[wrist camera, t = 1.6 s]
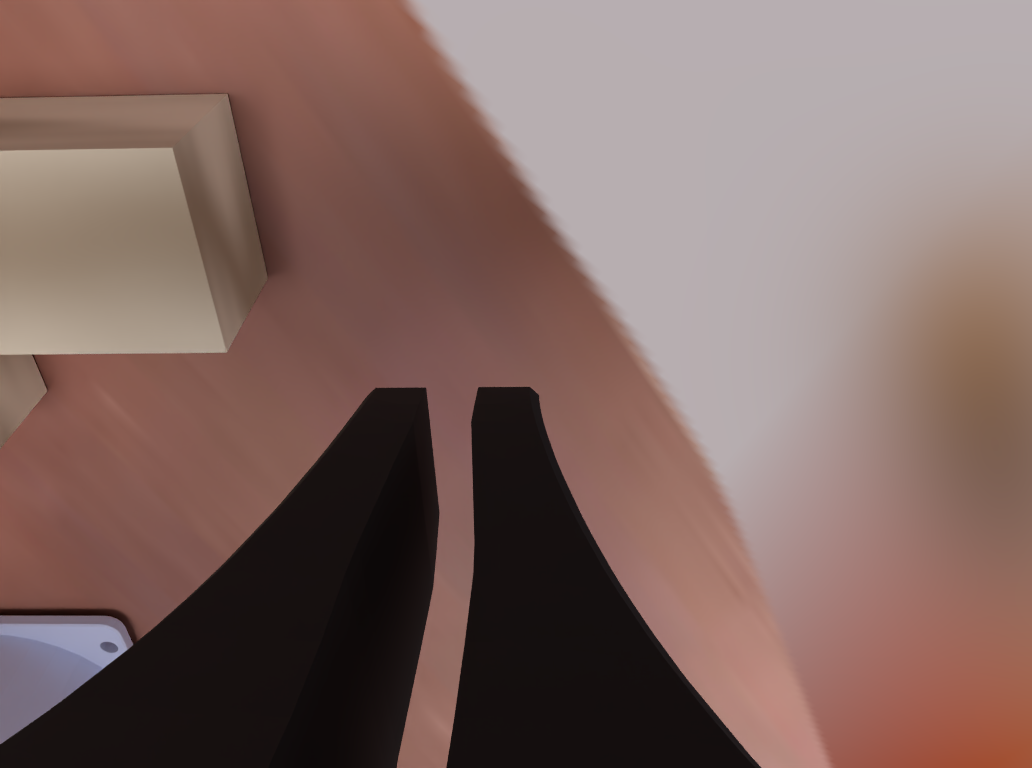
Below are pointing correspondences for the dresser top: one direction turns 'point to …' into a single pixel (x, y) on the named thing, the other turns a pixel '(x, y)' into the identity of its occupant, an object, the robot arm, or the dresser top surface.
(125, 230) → the maple t block
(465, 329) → the dresser top surface
